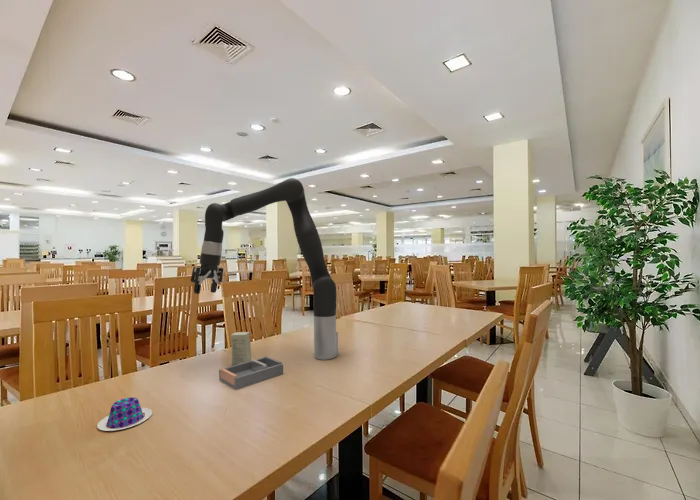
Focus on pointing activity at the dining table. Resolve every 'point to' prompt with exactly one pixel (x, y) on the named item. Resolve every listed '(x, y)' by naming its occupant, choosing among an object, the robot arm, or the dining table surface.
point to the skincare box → (240, 347)
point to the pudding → (124, 415)
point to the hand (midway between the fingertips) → (205, 292)
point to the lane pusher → (257, 365)
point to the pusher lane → (250, 373)
